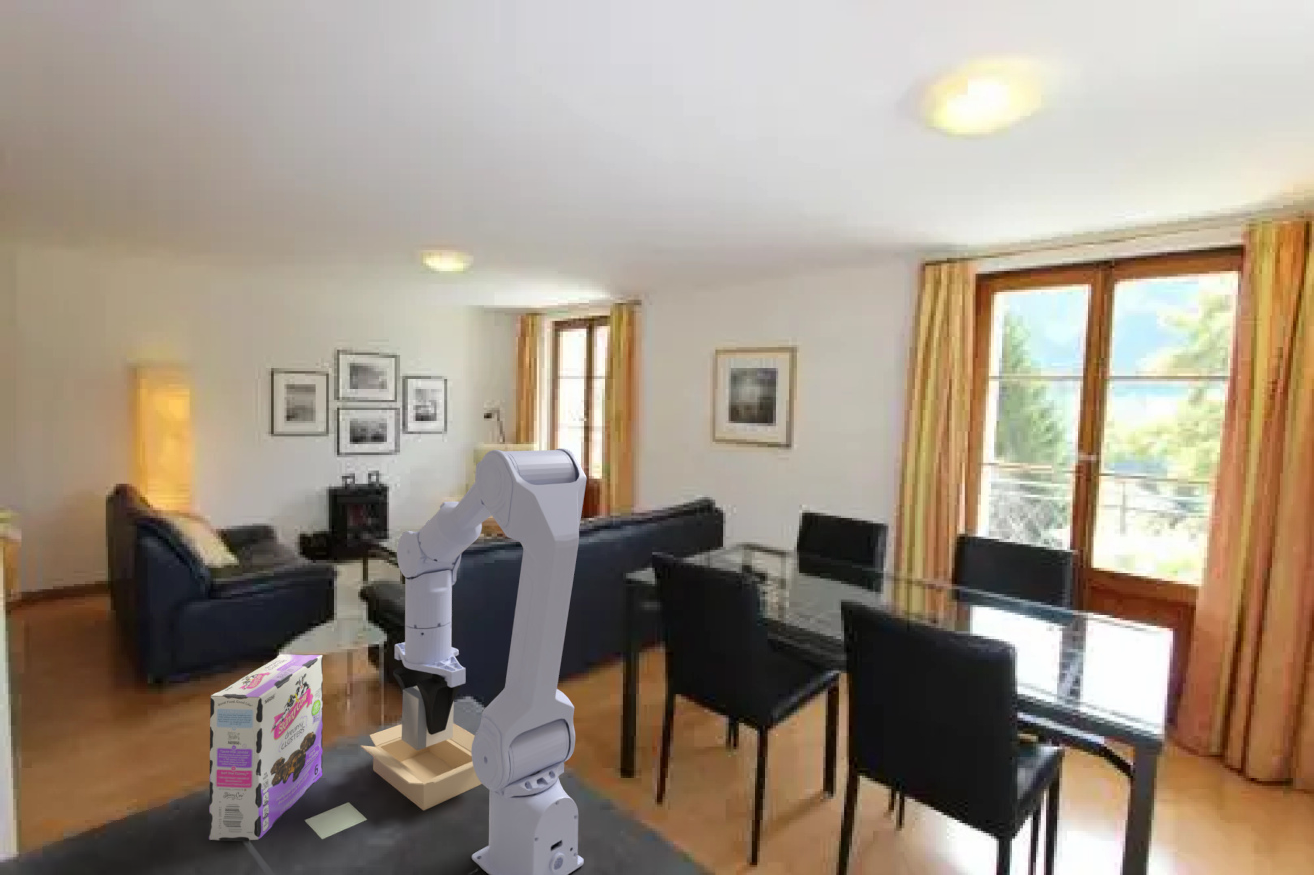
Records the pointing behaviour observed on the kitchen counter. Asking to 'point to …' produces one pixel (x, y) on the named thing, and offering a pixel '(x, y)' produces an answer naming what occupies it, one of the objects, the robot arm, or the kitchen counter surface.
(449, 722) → the block
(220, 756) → the candy box
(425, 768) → the carton
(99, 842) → the kitchen counter surface
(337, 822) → the mat
